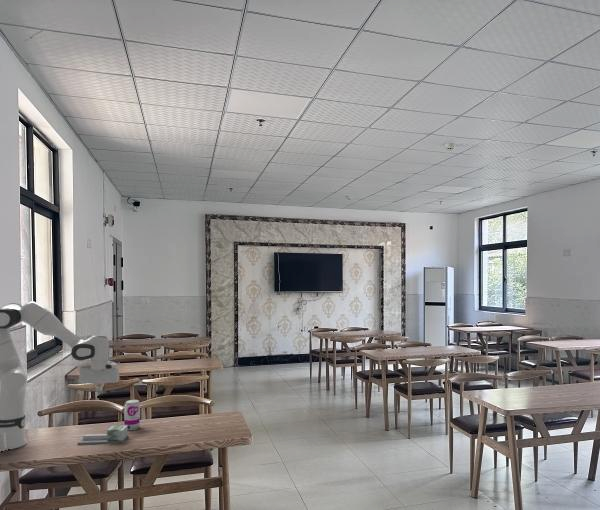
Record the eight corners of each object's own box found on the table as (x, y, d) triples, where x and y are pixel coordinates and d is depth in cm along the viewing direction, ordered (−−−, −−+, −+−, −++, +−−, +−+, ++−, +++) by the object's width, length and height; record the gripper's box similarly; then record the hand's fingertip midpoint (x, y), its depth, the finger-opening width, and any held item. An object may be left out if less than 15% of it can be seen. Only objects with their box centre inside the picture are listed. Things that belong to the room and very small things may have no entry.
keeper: (106, 440, 225) (107, 429, 225) (111, 435, 232) (111, 425, 232) (118, 439, 225) (119, 429, 226) (123, 435, 232) (123, 425, 233)
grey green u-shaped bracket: (77, 444, 222) (77, 432, 222) (85, 438, 232) (85, 426, 232) (121, 443, 224) (122, 431, 224) (127, 436, 234) (128, 425, 234)
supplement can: (139, 429, 245) (140, 402, 246) (124, 431, 242) (124, 403, 243) (139, 425, 253) (139, 398, 254) (124, 427, 250) (124, 400, 251)
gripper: (77, 366, 232) (76, 393, 231) (116, 365, 234) (116, 391, 233) (81, 364, 238) (81, 390, 237) (120, 363, 240) (120, 389, 239)
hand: (98, 391), depth 235 cm, fingers closed
